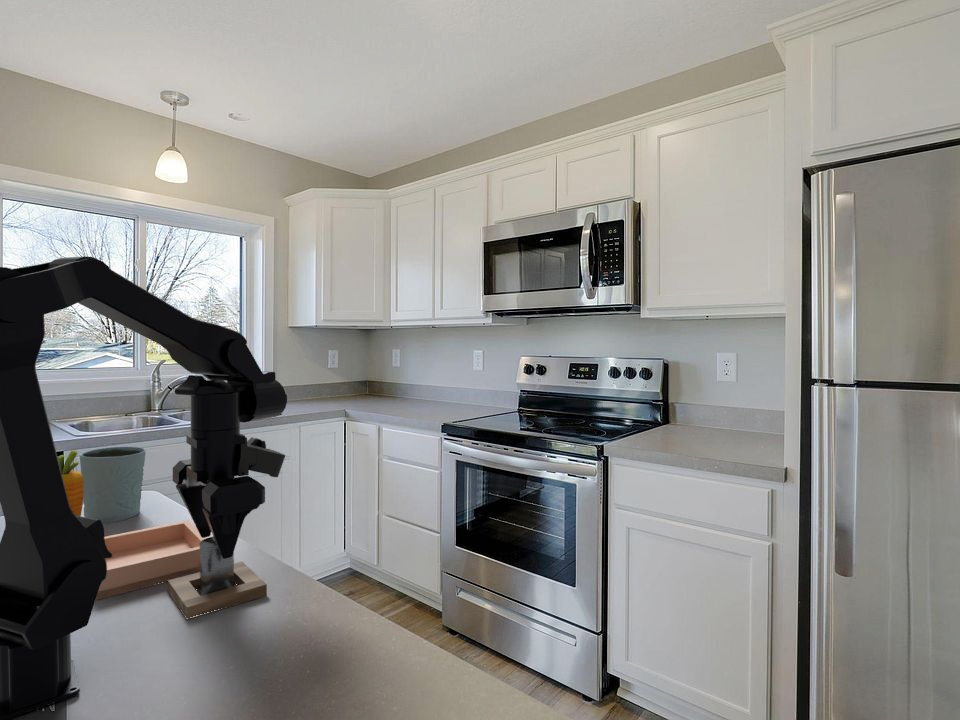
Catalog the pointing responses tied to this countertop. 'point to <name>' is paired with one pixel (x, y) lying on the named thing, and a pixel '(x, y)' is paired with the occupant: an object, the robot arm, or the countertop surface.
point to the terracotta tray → (150, 557)
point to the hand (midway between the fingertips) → (216, 546)
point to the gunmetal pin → (214, 568)
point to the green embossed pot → (112, 482)
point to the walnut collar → (196, 604)
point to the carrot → (72, 482)
